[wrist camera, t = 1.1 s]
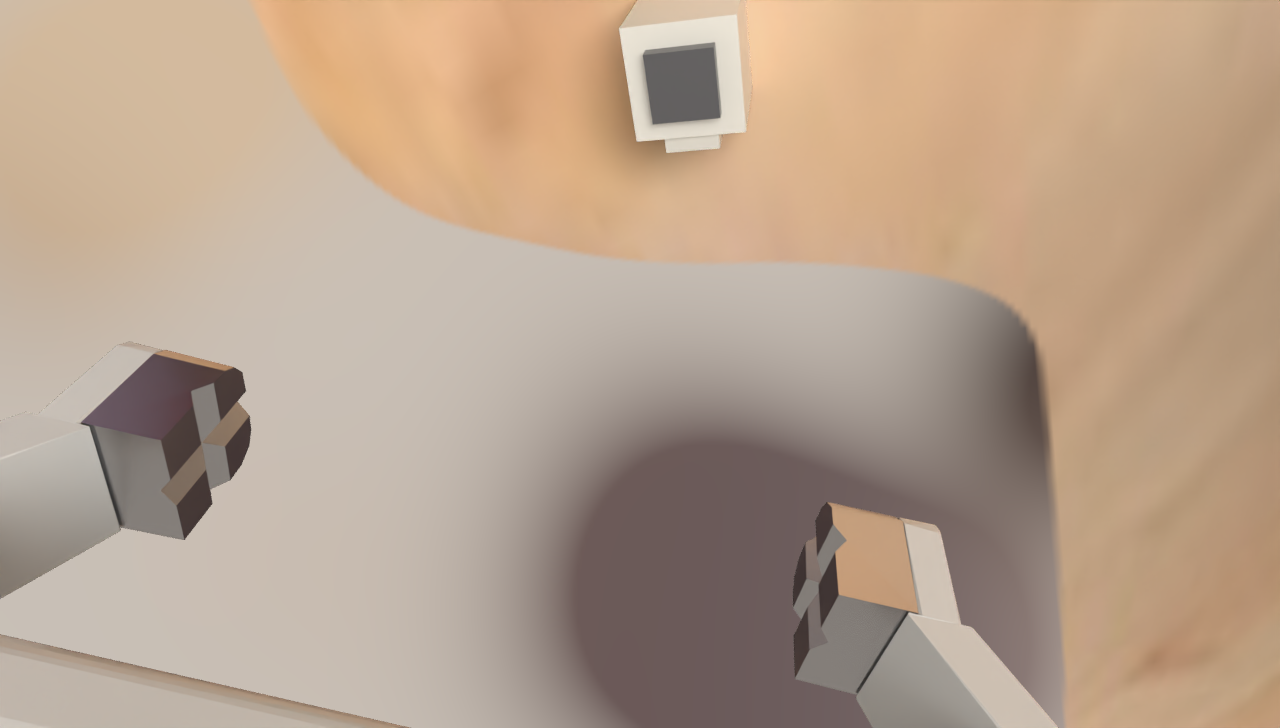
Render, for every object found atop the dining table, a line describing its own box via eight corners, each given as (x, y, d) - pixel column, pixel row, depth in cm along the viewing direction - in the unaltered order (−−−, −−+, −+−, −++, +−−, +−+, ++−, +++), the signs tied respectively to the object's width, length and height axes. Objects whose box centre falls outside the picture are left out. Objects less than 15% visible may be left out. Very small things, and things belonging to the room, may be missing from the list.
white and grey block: (744, -20, 31) (735, 18, 27) (753, 101, 34) (746, 154, 29) (641, -6, 32) (615, 33, 27) (657, 110, 35) (636, 163, 30)
